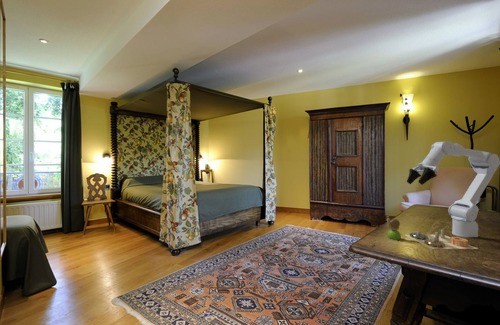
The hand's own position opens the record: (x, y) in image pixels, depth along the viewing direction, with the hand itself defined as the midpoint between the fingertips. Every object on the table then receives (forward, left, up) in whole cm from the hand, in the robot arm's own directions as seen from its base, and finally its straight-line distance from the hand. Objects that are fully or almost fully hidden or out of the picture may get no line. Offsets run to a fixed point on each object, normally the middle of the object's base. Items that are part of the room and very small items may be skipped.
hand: (414, 183), depth 114 cm
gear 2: (-3, +10, -26) cm, 28 cm away
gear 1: (-3, 0, -26) cm, 26 cm away
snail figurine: (+11, +2, -28) cm, 30 cm away
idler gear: (-14, +9, -26) cm, 31 cm away
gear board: (-8, +5, -27) cm, 29 cm away
